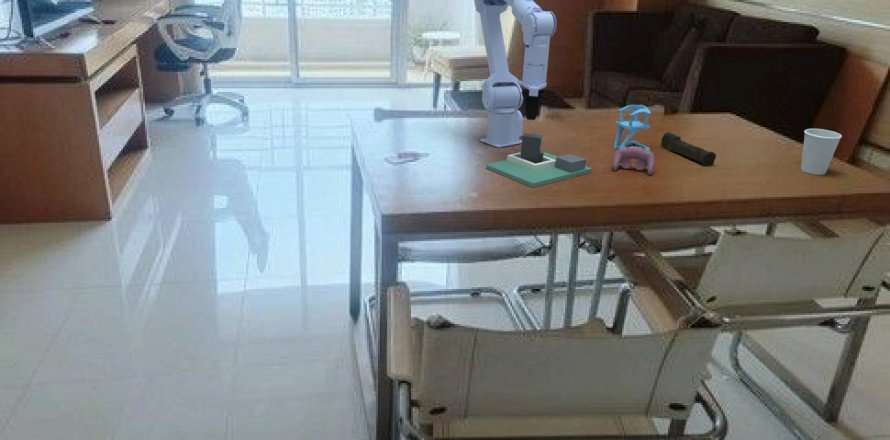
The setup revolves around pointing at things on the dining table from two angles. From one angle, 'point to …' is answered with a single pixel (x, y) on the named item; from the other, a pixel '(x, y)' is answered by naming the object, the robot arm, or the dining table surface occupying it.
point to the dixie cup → (818, 150)
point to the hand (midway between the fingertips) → (530, 119)
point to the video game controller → (634, 152)
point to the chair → (631, 125)
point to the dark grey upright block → (531, 148)
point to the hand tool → (687, 149)
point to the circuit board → (540, 168)
